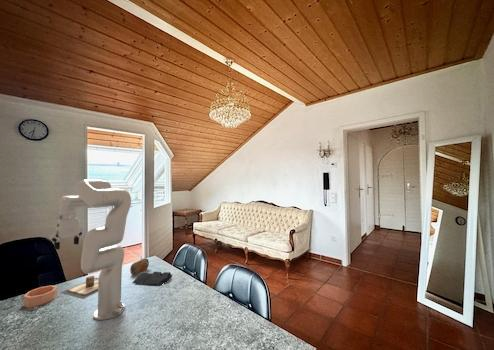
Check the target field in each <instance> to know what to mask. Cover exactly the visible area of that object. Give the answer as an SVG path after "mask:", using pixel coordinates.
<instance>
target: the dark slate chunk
mask: <svg viewBox="0 0 494 350" xmlns="http://www.w3.org/2000/svg"><path fill="white" fill-rule="evenodd" d="M172 277H173V274H171V272H168V271H164V272H163V273H162V271H153V272H151V273H149V272H142V273H140V274H138V276H136V278H135V279H134V280H133V281H132V282H131V284H133V285H134V286H148V287H161V286H163V285H162V284H163V283H165V282H166V283H168V282H169V281H170V280H171V279H172ZM170 278H171V279H170ZM169 279H170V280H169ZM168 280H169V281H168ZM167 281H168V282H167ZM166 283H165V284H166Z"/></svg>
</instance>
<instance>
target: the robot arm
mask: <svg viewBox="0 0 494 350" xmlns="http://www.w3.org/2000/svg"><path fill="white" fill-rule="evenodd" d="M75 193H76V195H63V196H60V198H59V214H58V215H57V216H56V218H57V219H58V220H57V219H56V220H57V223H56V227H55V231H54V232H51V234H49V235H48V238H49V239H50V240H51V242H52V243H54V244H53V248H54V250H60V248H61V242H60V241H61V239H65V238H70V237H73V244H74V245H79V244H80V238H81V236H82V234H83V232H84V230H85V229H84V228H81V227H80V222H79V218H78V217H77V210H79V209H89V208H105V207H106V208H107V207H112V209H110V211H109V212H108V213H107V214H106V218H105V222H104V223H105V224H104V225H103V226H101V227H95V228H92V229H89V231H87V232H86V234H85V236H84V239H83V244H82V249H81V250H82V251H81V256H80V257H81V258H80V269H81V271H82V272H83V274H87V275H88V274H89V275H90V274H93V273H96V272H99V271H100V273H99V276H98V278H99V279H98V292H97V309H96V310H95V311H94V312H93V315H92V316H93V319H95V320H96V321H104V320H109V319H113V318H114V317H117V316H119V315H120V314H122V313H123V311H124V310H125V309H126V306H125V304H124V303H123V301H122V272H123V271H122V269H123V263H124V259H125V250H124V248H123V246H121V245H118V244H121V242H123V239H124V235H125V230H126V224H127V218H128V214H129V212H130V208H131V205H132V197H131V194H130V192H129V191H127V190H126V189H123V188H112V186H111V183H110V182H109V181H107V180H103V179H81V180H80V181H78V182H77V184H76V185H75Z"/></svg>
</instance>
